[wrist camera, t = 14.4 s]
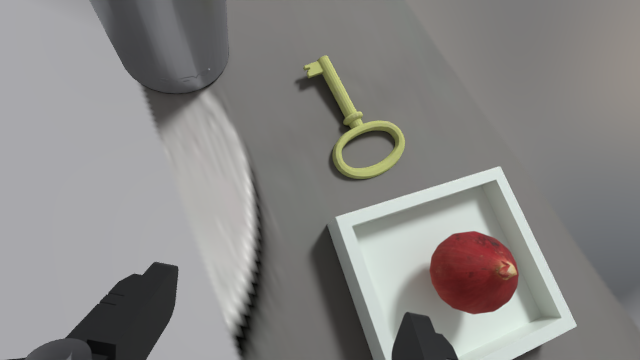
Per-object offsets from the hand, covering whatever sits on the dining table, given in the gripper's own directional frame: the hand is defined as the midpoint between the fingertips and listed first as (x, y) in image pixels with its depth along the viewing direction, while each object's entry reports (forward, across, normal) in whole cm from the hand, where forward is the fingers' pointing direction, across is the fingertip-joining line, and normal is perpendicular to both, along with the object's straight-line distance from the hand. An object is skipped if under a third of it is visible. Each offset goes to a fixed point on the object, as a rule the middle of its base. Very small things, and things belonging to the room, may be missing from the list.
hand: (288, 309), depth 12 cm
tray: (+16, -13, +7) cm, 22 cm away
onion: (+15, -13, +6) cm, 21 cm away
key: (+24, -3, -3) cm, 24 cm away
